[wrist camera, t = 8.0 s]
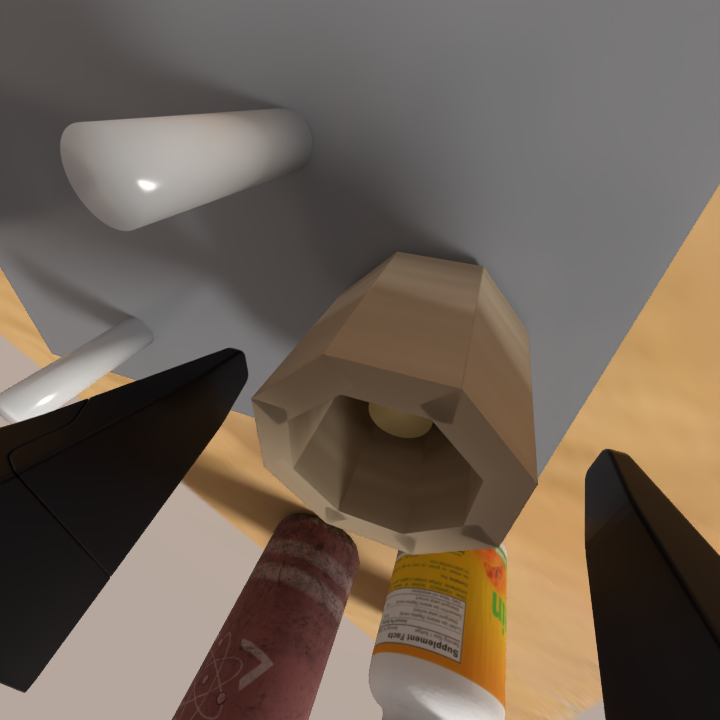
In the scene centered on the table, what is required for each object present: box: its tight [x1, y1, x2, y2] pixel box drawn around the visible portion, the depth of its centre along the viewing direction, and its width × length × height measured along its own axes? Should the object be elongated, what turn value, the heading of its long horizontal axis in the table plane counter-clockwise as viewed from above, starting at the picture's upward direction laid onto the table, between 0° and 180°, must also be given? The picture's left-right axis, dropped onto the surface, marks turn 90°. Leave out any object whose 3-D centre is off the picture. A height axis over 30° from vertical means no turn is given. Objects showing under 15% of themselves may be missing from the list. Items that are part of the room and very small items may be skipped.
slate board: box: [0, 0, 720, 477], centre depth 11 cm, size 25×15×7 cm, turn 86°
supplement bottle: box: [369, 542, 507, 720], centre depth 16 cm, size 5×5×10 cm
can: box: [172, 514, 360, 720], centre depth 20 cm, size 6×6×14 cm
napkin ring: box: [251, 251, 538, 555], centre depth 9 cm, size 6×6×5 cm
